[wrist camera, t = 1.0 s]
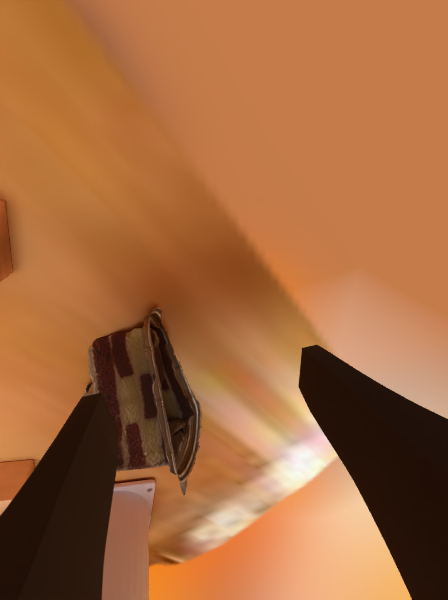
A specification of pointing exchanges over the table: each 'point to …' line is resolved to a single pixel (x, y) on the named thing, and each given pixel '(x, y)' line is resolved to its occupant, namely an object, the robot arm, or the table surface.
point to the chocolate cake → (147, 399)
